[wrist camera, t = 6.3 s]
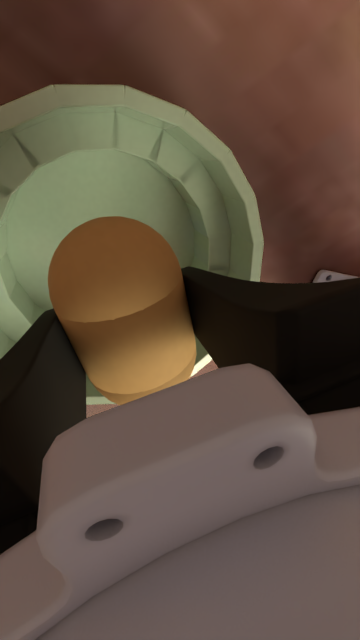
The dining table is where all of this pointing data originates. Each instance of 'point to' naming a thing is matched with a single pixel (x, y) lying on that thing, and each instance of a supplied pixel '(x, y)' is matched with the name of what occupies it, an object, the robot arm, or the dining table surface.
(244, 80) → the dining table surface
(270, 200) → the dining table surface
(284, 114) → the dining table surface
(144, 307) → the potato
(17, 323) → the celadon bowl
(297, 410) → the robot arm
